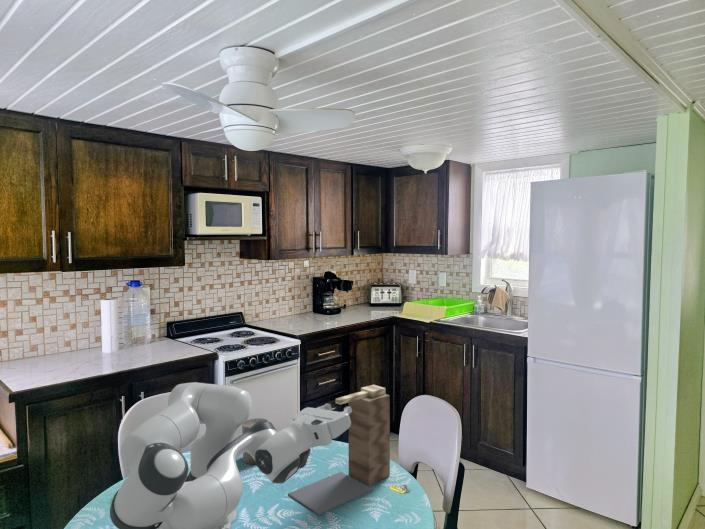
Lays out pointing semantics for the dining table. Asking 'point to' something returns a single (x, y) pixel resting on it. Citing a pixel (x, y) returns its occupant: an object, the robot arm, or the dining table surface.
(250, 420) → the pillar candle
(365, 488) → the rubber mat
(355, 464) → the walnut stand
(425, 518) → the dining table surface
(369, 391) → the beech spatula
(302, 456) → the phone
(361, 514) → the dining table surface
